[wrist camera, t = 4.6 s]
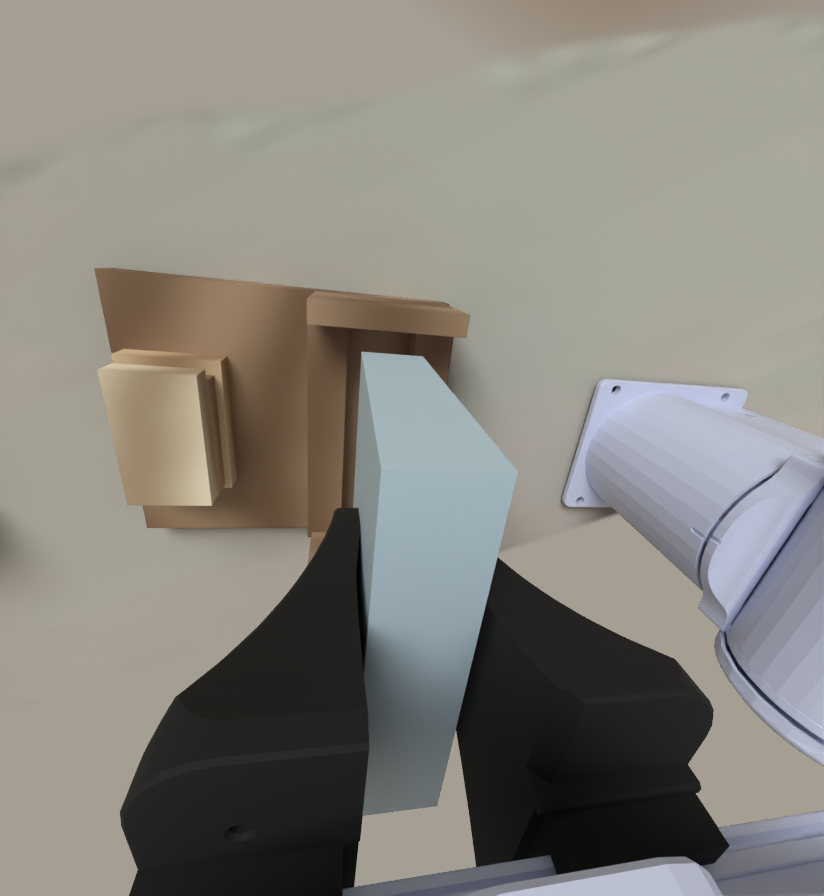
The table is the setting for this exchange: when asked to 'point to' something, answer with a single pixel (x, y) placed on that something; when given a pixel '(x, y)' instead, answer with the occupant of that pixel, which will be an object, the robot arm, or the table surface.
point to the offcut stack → (170, 426)
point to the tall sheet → (420, 568)
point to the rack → (277, 381)
